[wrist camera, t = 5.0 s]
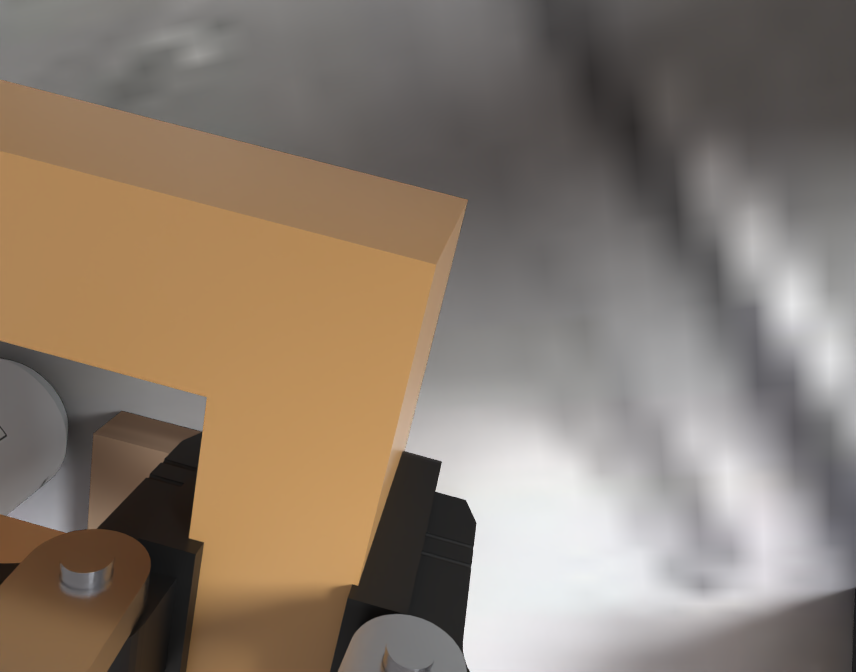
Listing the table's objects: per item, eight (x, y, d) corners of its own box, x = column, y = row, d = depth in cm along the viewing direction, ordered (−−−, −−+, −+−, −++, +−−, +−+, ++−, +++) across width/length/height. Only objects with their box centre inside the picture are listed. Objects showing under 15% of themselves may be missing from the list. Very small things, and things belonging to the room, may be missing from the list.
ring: (-167, 36, 11) (-540, 10, 7) (468, 199, 10) (436, 263, 6) (-131, 558, 14) (-364, 727, 10) (343, 694, 14) (276, 920, 10)
